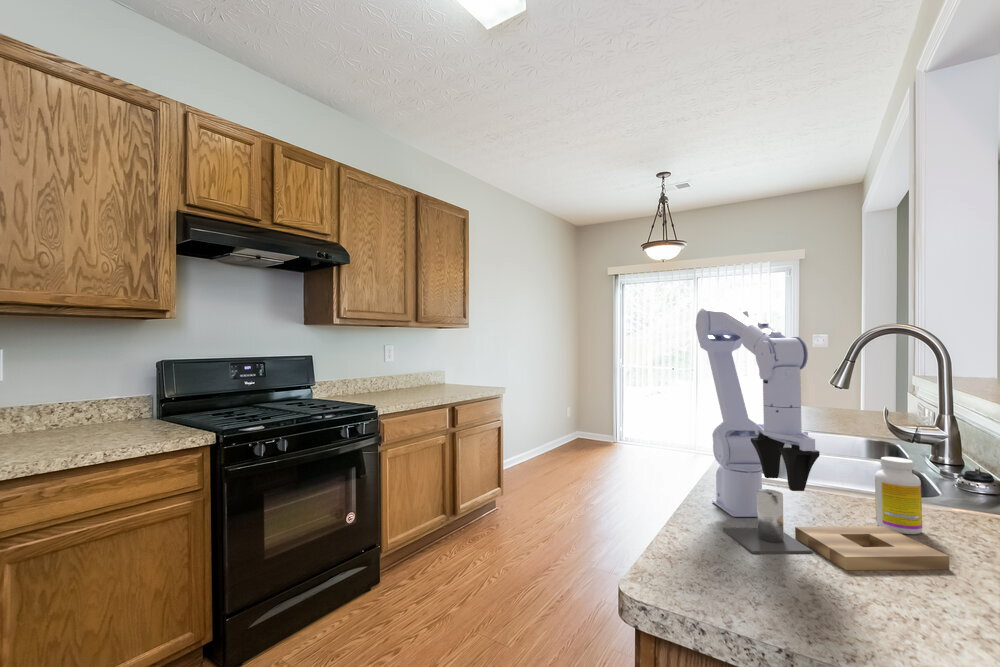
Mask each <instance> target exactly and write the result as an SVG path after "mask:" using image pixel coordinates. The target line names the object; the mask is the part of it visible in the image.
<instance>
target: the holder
mask: <svg viewBox="0 0 1000 667" xmlns="http://www.w3.org/2000/svg"><path fill="white" fill-rule="evenodd" d="M794 532H795V533H794V536H795V537H794V539H795V540H797V541H798V542H800V543H801V544H803V545H805V546H806V547H808V548H809V549H811V550H812V551H815V552H816V553H818V554H820V555H821V556H822V557H824V558H826V559H827V560H829V561H830V562H832V563H833V564H835V565H837V566H838V567H840V568H842V569H843V570H845V571H891V570H893V571H894V570H896V571H897V570H898V571H901V570H902V571H903V570H905V571H909V570H911V571H912V570H915V571H916V570H917V571H918V570H950V555H948V554H945V553H943V552H942V551H939V550H937V549H935V548H932V547H930V546H928V545H926V544H924V543H922V542H919V541H917V540H915V539H913V538H911V537H909V536H907V535H906V534H902V533H898V532H896V531H894V530H892V529H889V528H887V527H885V526H879V525H875V526H873V525H872V526H871V525H870V526H869V525H864V526H863V525H862V526H860V525H858V526H855V525H854V526H842V525H840V526H795V528H794Z"/></svg>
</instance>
